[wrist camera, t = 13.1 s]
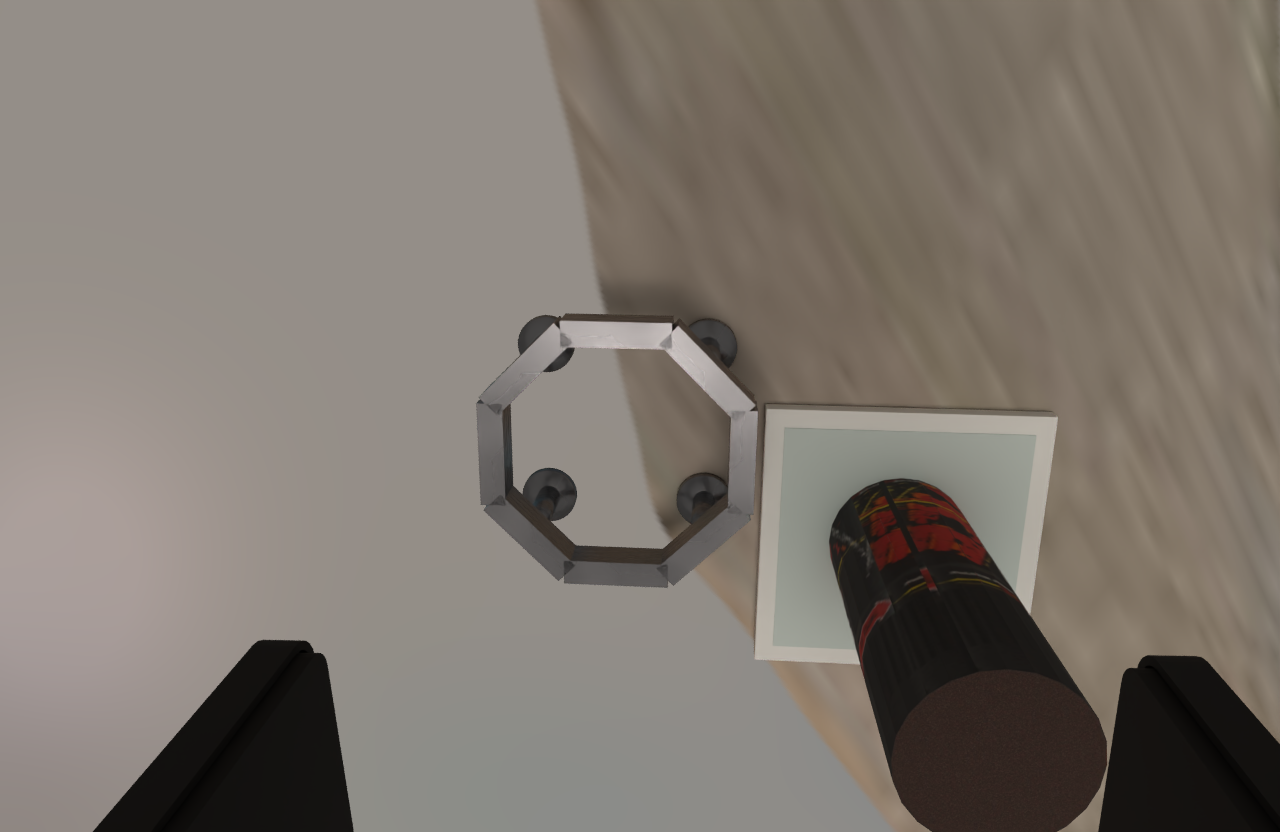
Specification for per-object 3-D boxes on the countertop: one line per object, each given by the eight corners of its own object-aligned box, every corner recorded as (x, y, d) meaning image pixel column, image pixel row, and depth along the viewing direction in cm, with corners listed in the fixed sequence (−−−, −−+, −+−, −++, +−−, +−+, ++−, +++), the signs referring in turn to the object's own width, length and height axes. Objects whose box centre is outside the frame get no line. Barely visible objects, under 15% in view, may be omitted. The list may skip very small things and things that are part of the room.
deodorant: (996, 543, 40) (1152, 766, 26) (892, 628, 42) (985, 883, 28) (903, 450, 39) (1011, 629, 25) (800, 540, 41) (847, 757, 27)
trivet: (765, 403, 40) (766, 409, 39) (1051, 411, 39) (1059, 417, 39) (753, 650, 44) (754, 660, 43) (1016, 662, 43) (1022, 673, 42)
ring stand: (501, 297, 40) (472, 318, 35) (755, 302, 39) (761, 325, 34) (509, 530, 43) (484, 580, 38) (745, 539, 42) (749, 591, 37)
